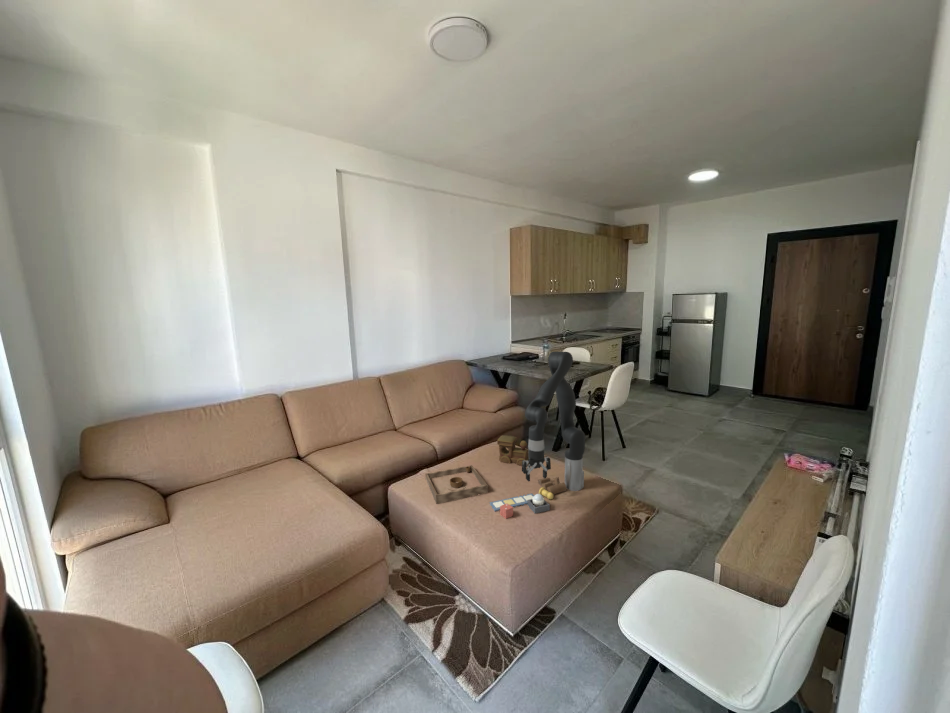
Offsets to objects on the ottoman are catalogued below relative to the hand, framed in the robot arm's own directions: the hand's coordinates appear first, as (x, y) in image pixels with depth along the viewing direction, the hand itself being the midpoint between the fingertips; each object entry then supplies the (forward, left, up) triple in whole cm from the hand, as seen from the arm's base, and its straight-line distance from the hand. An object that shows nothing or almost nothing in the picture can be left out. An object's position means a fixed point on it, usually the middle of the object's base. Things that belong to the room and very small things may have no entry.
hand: (536, 479), depth 184 cm
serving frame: (+31, -34, -15) cm, 48 cm away
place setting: (+27, -36, -15) cm, 47 cm away
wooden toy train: (-11, -48, -15) cm, 51 cm away
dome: (-1, +1, -12) cm, 12 cm away
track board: (+8, -8, -15) cm, 19 cm away
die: (+16, +1, -15) cm, 22 cm away
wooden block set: (-11, -11, -11) cm, 19 cm away
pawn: (-8, -9, -12) cm, 17 cm away
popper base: (-1, +1, -15) cm, 15 cm away
